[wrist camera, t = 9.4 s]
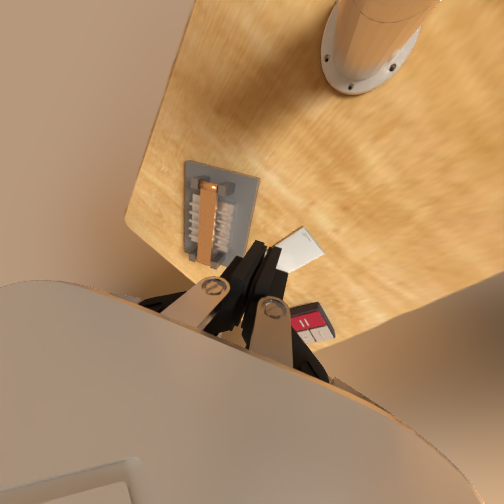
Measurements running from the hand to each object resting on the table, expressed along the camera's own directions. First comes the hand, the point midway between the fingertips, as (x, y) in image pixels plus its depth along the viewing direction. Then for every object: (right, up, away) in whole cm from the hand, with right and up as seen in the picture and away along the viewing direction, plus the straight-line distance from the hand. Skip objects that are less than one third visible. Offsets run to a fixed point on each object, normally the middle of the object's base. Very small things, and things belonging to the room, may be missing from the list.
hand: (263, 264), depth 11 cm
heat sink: (-10, +8, +34) cm, 37 cm away
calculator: (+14, -20, +44) cm, 50 cm away
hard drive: (+9, +1, +35) cm, 36 cm away
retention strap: (-11, +7, +31) cm, 34 cm away
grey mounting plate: (-9, +9, +36) cm, 38 cm away
